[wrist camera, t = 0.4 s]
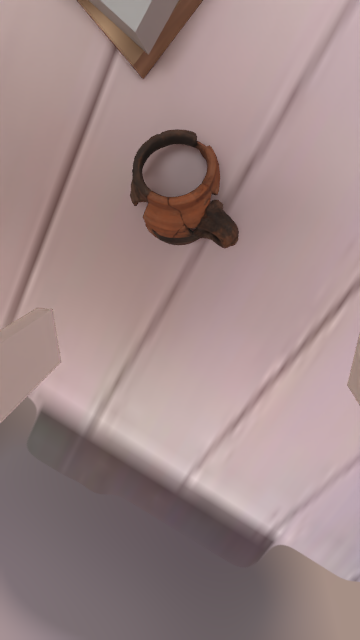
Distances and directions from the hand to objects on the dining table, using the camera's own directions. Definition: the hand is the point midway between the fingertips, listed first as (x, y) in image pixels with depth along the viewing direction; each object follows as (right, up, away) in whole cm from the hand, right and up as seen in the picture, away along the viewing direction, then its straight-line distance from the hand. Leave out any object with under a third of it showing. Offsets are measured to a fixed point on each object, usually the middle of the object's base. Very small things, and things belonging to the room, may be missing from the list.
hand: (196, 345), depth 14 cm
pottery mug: (0, +14, +20) cm, 24 cm away
